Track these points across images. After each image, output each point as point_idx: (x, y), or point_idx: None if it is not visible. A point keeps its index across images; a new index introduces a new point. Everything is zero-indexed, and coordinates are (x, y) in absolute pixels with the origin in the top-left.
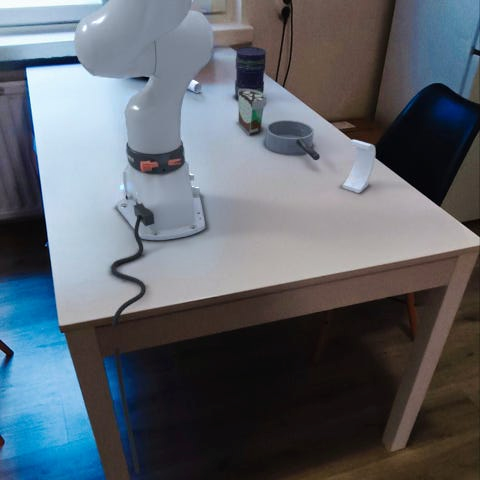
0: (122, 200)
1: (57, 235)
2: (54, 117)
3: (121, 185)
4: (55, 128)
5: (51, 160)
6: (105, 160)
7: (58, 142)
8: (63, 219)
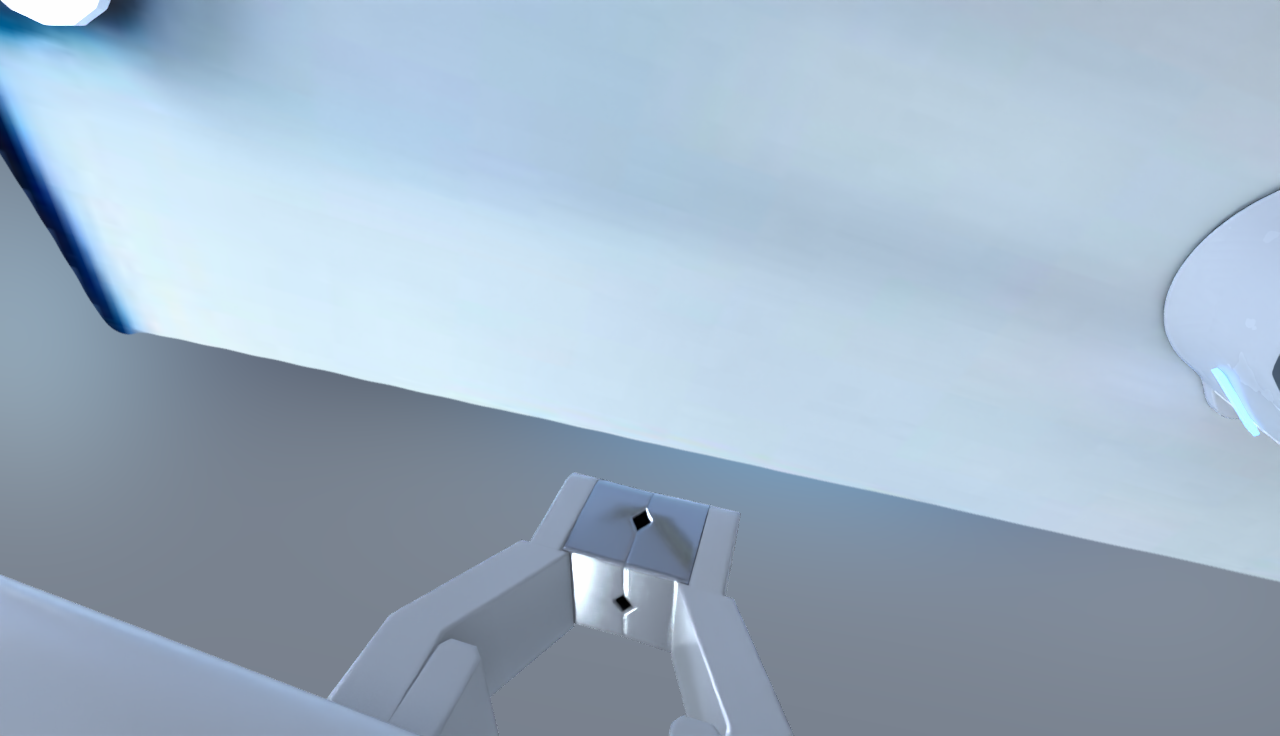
0: (1220, 400)
1: (1223, 558)
2: (489, 369)
3: (1251, 429)
4: (567, 388)
5: (776, 452)
6: (851, 338)
7: (665, 408)
8: (1149, 526)
